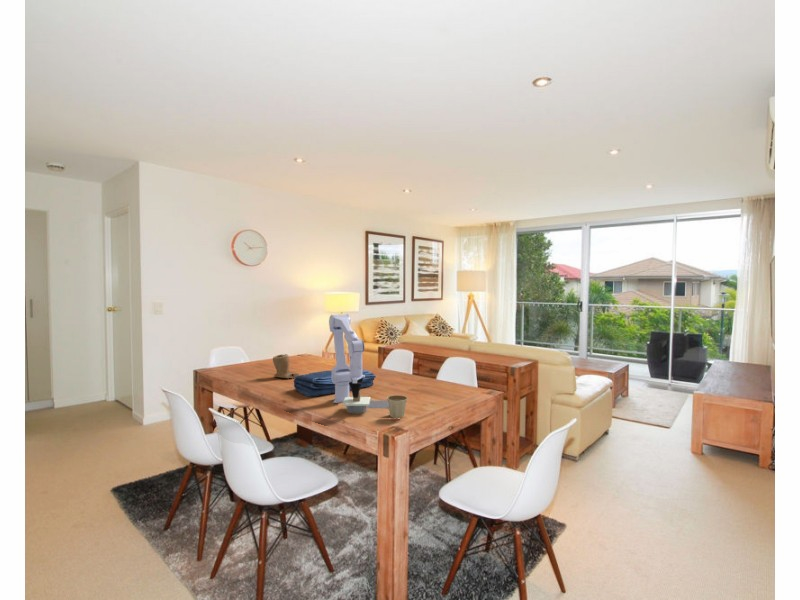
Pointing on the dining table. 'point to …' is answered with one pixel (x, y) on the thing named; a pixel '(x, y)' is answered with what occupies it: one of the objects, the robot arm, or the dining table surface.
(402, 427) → the dining table surface
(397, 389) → the dining table surface
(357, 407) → the bowl
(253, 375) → the dining table surface
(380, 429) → the dining table surface
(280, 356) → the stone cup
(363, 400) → the lid
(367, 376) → the towel
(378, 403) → the mat
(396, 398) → the flower pot
